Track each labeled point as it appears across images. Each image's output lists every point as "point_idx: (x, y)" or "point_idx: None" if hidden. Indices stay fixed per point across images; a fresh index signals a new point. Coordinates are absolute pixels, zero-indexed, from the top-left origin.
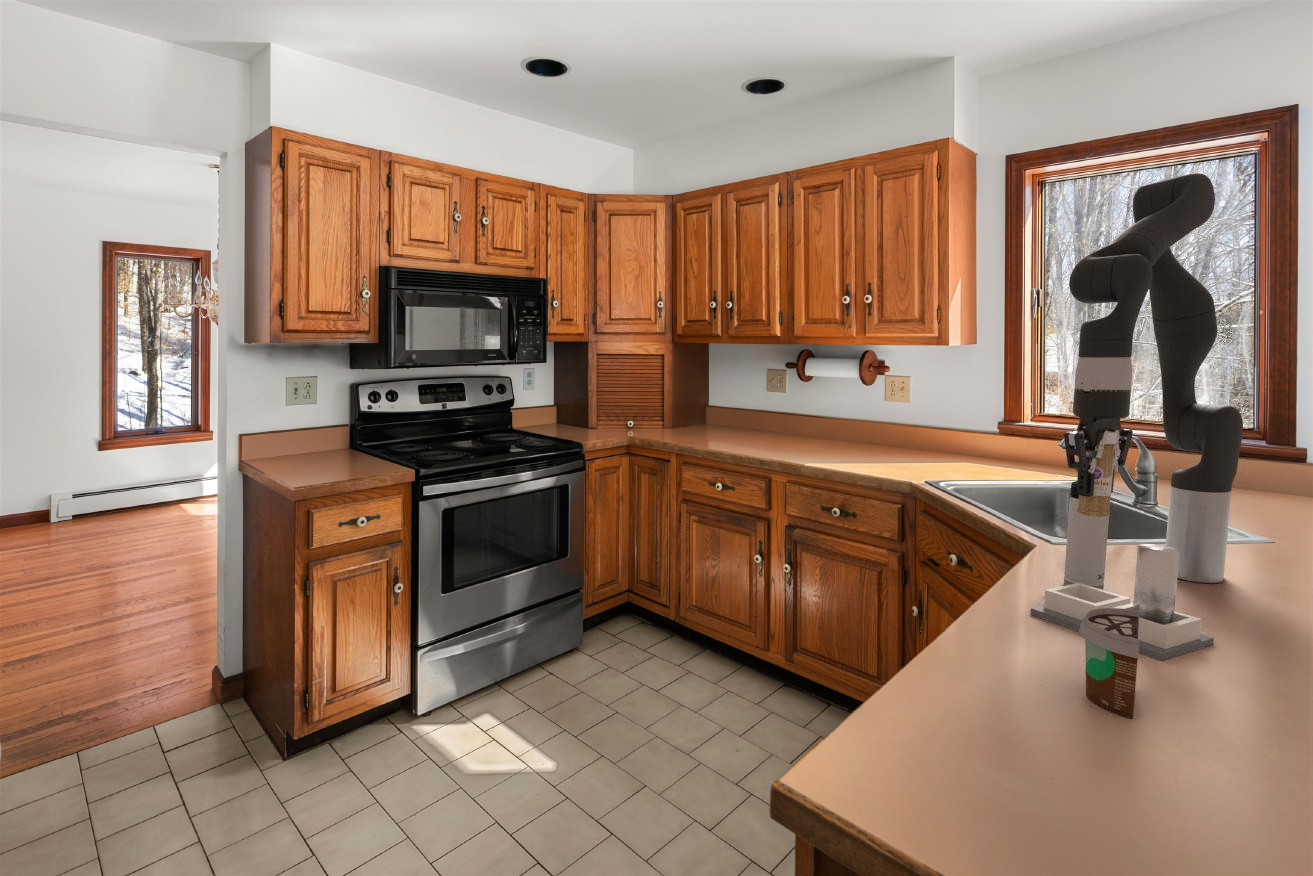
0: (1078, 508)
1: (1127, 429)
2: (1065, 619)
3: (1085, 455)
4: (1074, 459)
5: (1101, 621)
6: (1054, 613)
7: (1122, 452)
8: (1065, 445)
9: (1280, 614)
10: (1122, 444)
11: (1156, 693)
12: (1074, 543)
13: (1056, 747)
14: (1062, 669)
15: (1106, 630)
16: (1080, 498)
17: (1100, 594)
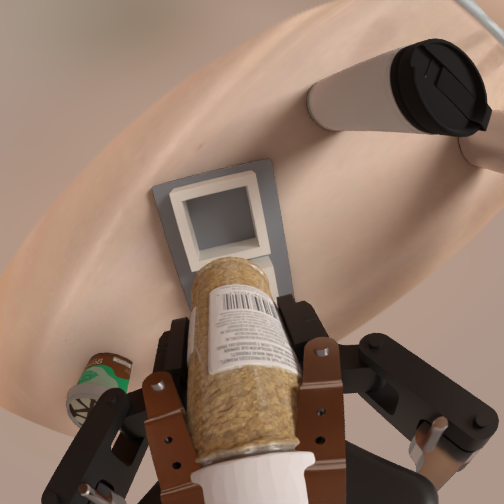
0: (197, 280)
1: (463, 466)
2: (168, 236)
3: (133, 467)
4: (120, 422)
5: (84, 401)
6: (170, 213)
7: (383, 415)
8: (60, 464)
9: (436, 255)
10: (407, 432)
11: (144, 370)
12: (336, 96)
13: (48, 388)
14: (94, 325)
15: (72, 420)
16: (192, 305)
17: (253, 217)
